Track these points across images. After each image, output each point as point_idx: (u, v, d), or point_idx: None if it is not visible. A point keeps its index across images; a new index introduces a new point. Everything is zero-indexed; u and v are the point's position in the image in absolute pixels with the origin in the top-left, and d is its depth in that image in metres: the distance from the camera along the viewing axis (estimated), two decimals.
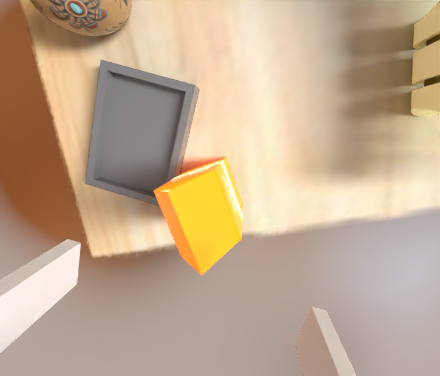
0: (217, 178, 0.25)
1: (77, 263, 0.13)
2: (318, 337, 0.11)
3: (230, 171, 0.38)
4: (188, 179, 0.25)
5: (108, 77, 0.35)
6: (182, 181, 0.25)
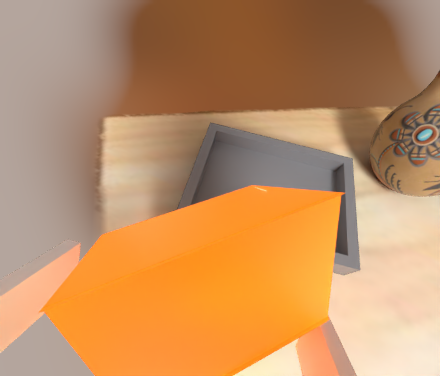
0: (309, 326, 0.10)
1: (77, 263, 0.13)
2: (318, 337, 0.11)
3: None
4: None
5: (334, 163, 0.31)
6: None
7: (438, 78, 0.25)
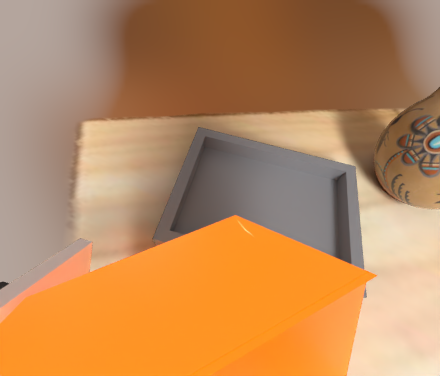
0: None
1: (89, 262, 0.13)
2: None
3: None
4: None
5: (336, 172, 0.28)
6: None
7: None
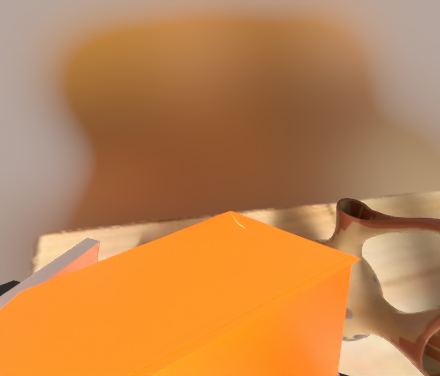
0: None
1: (96, 261, 0.13)
2: None
3: None
4: None
5: None
6: None
7: (331, 243, 0.26)
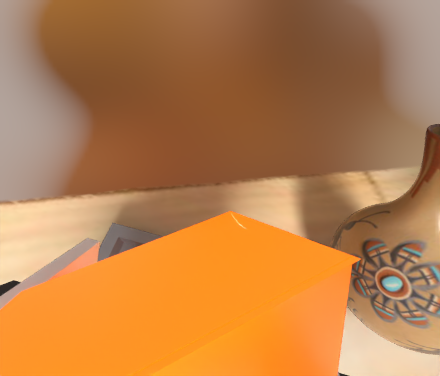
0: None
1: (96, 261, 0.13)
2: None
3: None
4: None
5: None
6: None
7: (411, 199, 0.16)
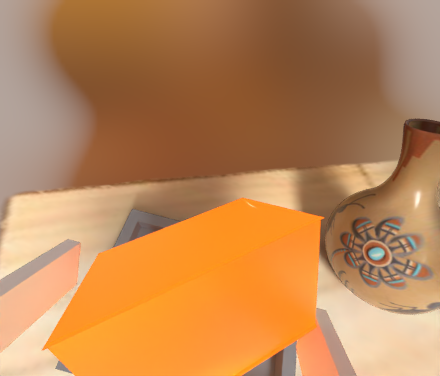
0: (298, 334, 0.11)
1: (77, 263, 0.13)
2: (318, 336, 0.11)
3: None
4: None
5: None
6: None
7: (392, 182, 0.19)
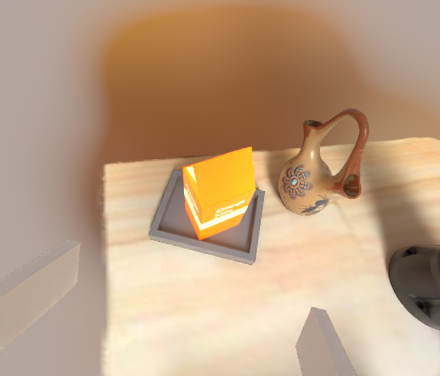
0: (249, 190, 0.34)
1: (77, 263, 0.13)
2: (318, 336, 0.11)
3: (229, 226, 0.45)
4: None
5: (253, 195, 0.48)
6: None
7: (301, 149, 0.42)
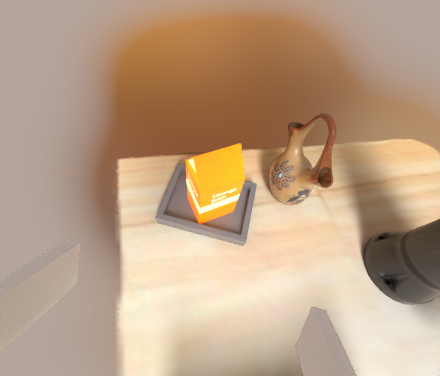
0: (239, 179, 0.41)
1: (77, 263, 0.13)
2: (318, 336, 0.11)
3: (224, 212, 0.52)
4: None
5: (246, 186, 0.56)
6: None
7: (287, 147, 0.49)
